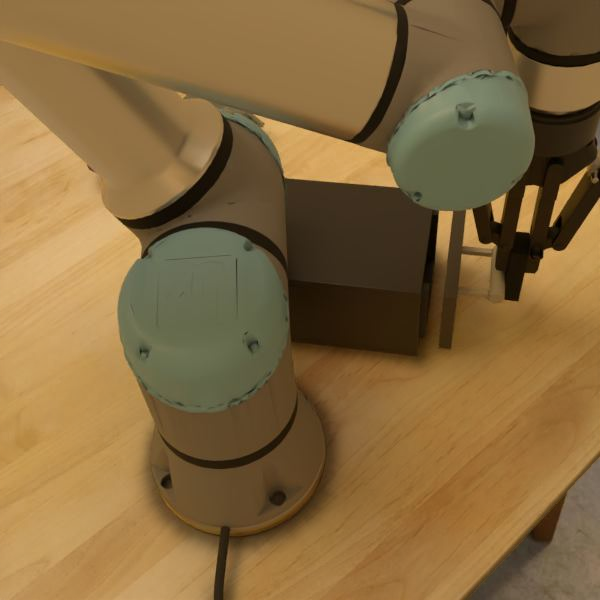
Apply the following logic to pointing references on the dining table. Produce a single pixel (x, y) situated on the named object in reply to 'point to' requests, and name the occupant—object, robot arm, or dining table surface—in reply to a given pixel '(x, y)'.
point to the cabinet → (355, 265)
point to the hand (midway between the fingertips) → (511, 289)
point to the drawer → (455, 277)
